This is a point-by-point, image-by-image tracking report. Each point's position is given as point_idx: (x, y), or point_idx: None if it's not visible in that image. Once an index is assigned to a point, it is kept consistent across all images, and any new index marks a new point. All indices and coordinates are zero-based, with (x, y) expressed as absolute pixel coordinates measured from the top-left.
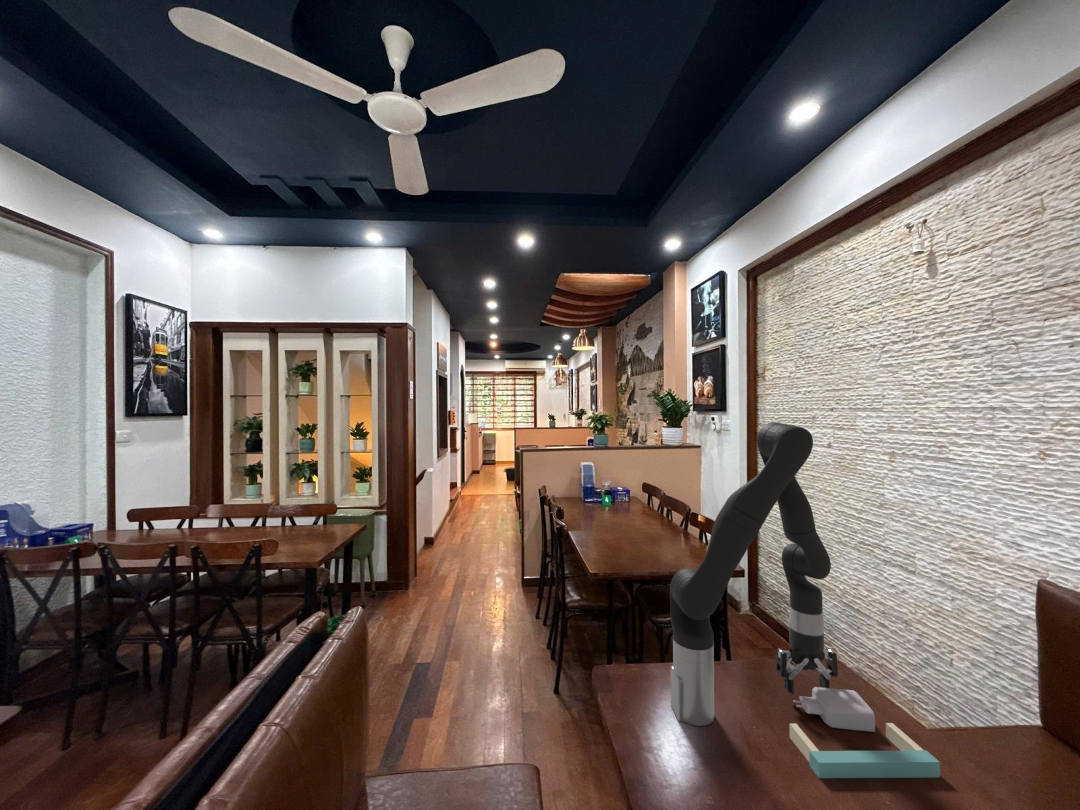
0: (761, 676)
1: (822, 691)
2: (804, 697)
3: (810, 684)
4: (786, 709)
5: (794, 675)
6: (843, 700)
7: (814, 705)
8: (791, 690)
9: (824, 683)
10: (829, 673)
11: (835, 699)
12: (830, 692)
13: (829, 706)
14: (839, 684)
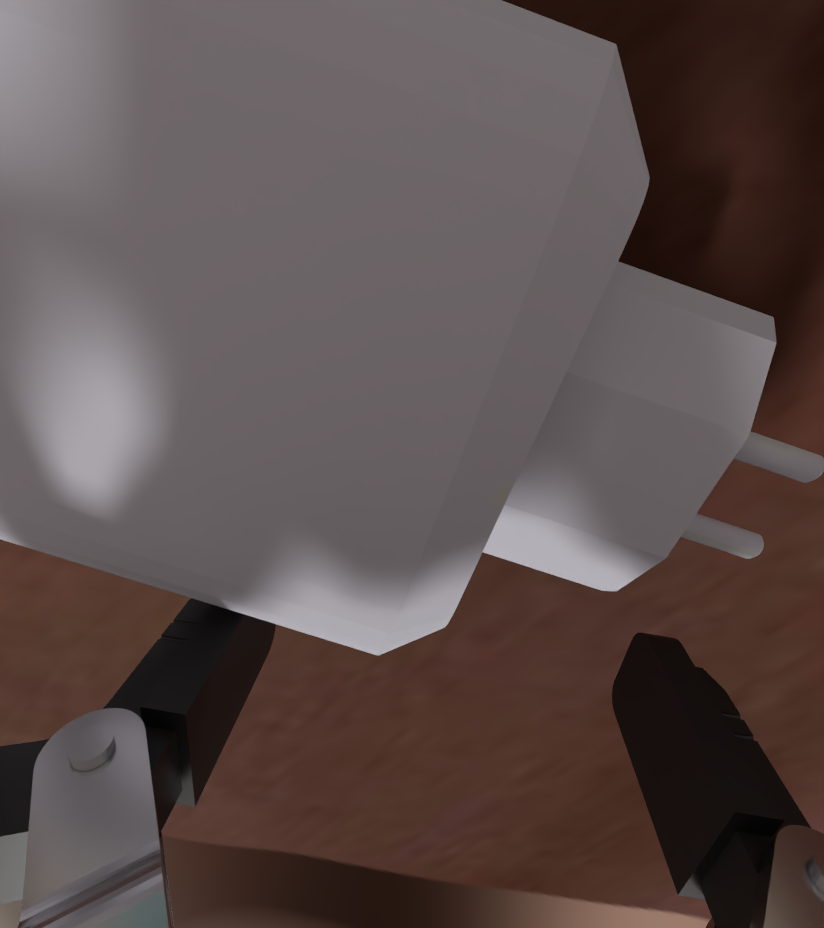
0: (567, 838)
1: (368, 551)
2: (648, 542)
3: (258, 712)
4: (758, 516)
5: (784, 920)
6: (171, 275)
7: (660, 376)
8: (694, 673)
9: (218, 671)
10: (15, 817)
11: (303, 332)
12: (257, 509)
13: (597, 150)
14: (30, 670)
